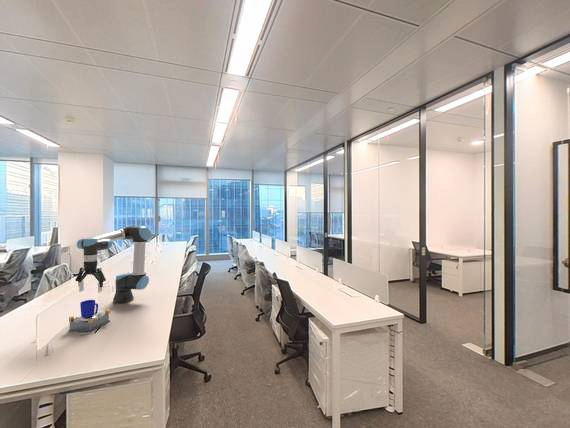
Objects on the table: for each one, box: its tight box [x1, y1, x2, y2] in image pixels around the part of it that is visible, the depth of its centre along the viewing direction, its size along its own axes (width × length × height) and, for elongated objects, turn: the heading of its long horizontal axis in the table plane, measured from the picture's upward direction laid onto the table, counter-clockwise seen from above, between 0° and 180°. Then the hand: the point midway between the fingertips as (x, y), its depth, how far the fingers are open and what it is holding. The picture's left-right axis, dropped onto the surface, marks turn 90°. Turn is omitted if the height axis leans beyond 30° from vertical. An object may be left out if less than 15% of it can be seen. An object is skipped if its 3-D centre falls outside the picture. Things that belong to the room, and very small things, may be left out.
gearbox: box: [68, 309, 111, 334], centre depth 174 cm, size 17×18×8 cm
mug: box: [79, 299, 99, 318], centre depth 174 cm, size 8×12×10 cm
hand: (90, 291), depth 176 cm, fingers open, 13 cm apart
